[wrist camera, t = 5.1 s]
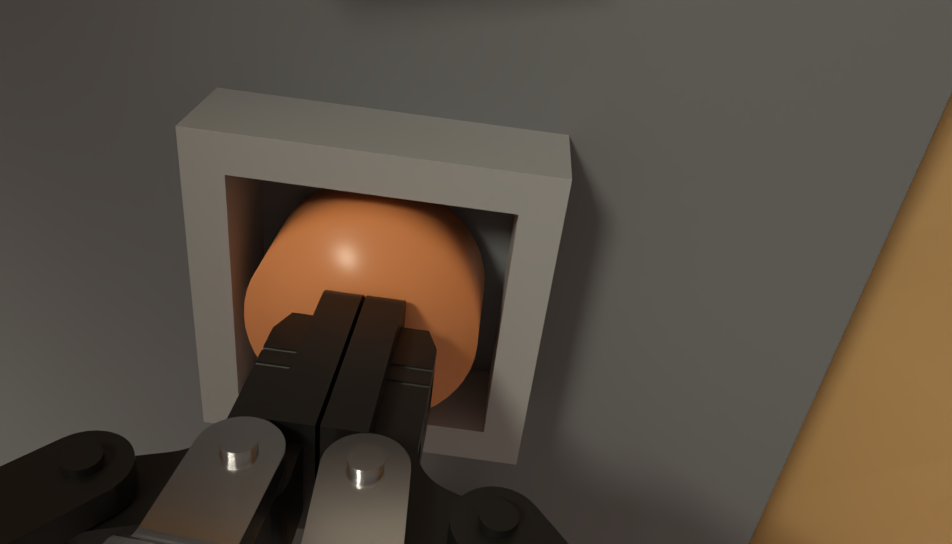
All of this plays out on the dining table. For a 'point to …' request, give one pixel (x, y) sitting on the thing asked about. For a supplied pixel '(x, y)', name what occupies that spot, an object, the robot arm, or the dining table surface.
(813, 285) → the control panel
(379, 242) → the push button
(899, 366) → the dining table surface
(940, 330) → the dining table surface
